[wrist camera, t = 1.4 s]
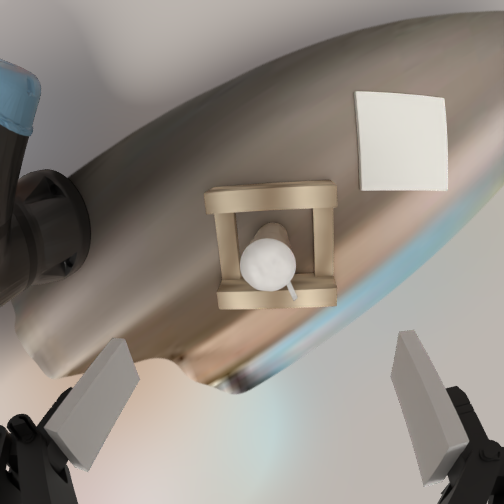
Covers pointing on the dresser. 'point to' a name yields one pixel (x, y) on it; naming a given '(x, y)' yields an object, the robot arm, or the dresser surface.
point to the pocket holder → (275, 198)
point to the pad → (401, 141)
